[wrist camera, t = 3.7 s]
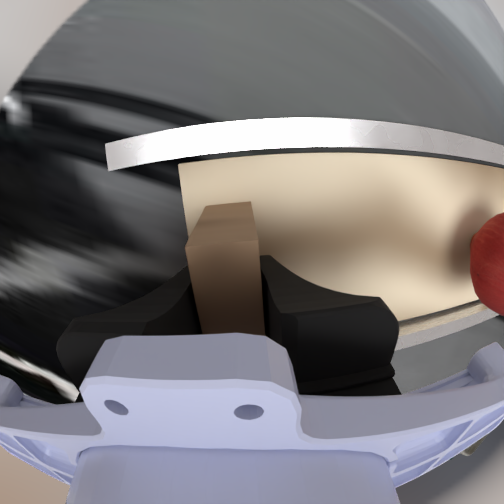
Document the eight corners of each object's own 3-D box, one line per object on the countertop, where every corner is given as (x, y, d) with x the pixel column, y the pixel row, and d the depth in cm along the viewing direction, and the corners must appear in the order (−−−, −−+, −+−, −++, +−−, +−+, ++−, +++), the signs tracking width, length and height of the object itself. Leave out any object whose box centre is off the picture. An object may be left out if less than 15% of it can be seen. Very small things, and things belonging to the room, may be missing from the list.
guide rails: (509, 297, 16) (518, 305, 15) (170, 359, 16) (166, 377, 15) (533, 158, 11) (547, 161, 10) (120, 143, 11) (105, 143, 10)
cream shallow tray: (488, 291, 16) (528, 327, 11) (210, 340, 15) (202, 416, 10) (510, 169, 12) (564, 188, 7) (180, 163, 12) (138, 179, 7)
